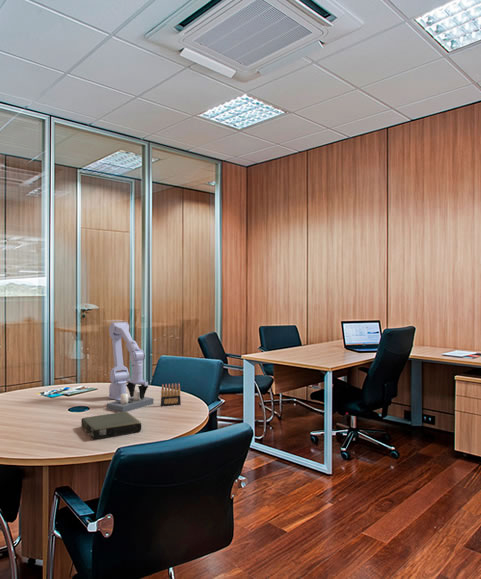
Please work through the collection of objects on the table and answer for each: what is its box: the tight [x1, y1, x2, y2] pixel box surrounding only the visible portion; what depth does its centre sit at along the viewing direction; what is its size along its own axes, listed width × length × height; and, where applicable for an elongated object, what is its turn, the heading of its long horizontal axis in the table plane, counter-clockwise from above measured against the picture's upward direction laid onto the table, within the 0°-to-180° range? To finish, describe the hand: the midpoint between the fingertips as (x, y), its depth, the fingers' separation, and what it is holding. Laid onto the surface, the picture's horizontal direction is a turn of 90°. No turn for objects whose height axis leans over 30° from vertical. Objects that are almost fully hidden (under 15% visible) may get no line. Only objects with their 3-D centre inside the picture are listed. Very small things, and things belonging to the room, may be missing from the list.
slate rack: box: [106, 392, 154, 413], centre depth 235 cm, size 12×22×8 cm, turn 147°
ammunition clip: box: [160, 382, 182, 407], centre depth 238 cm, size 11×2×12 cm, turn 109°
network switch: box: [80, 411, 142, 441], centre depth 194 cm, size 23×23×5 cm
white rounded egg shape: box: [133, 389, 141, 401], centre depth 239 cm, size 4×4×7 cm
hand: (137, 397), depth 238 cm, fingers open, 7 cm apart
